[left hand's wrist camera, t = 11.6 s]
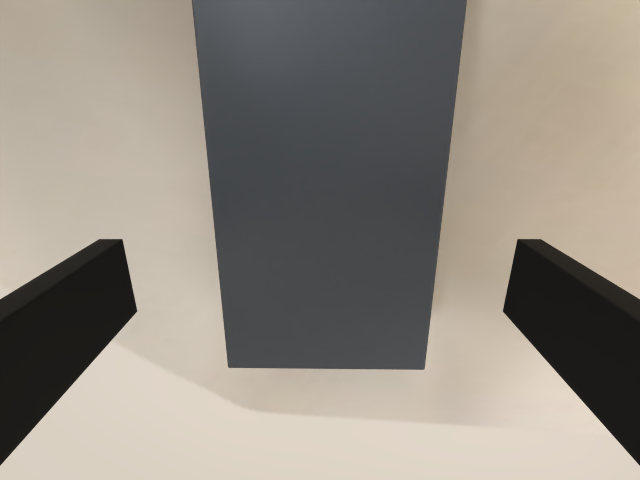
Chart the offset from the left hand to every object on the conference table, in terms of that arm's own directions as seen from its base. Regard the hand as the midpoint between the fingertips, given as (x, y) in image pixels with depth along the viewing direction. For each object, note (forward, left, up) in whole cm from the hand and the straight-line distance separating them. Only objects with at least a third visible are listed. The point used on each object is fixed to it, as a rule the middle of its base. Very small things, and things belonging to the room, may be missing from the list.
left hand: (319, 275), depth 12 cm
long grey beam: (+8, +25, -11) cm, 29 cm away
